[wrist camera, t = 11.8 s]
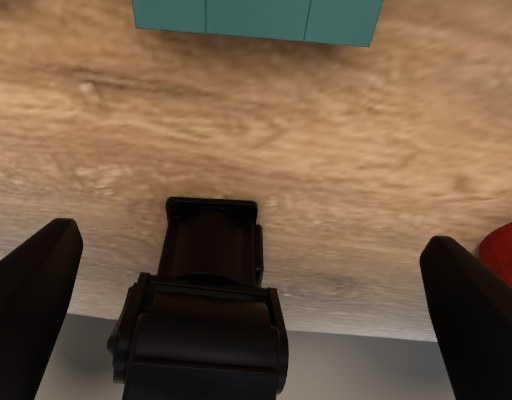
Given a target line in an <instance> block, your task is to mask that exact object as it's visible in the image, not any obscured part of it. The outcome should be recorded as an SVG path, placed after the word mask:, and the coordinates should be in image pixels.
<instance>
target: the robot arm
mask: <svg viewBox="0 0 512 400" xmlns="http://www.w3.org/2000/svg"><path fill="white" fill-rule="evenodd" d="M172 203H173V204H175V205H173V204H172ZM249 207H252V208H249ZM257 211H258V206H257V203H256V202H254V201H243V200H223V199H204V198H184V197H170V198H168V199H167V202H166V212H167V220H168V226H167V231H166V235H165V240H164V245H163V249H162V254H161V258H160V263H159V267H158V272H157V275H150V273H145V272H141V273H140V275H139V278H138V281H137V283H135V282H134V285H133V286H132V287H129V289H128V293H127V297H126V300H125V304H124V307H123V310H122V313H121V315H120V317H119V319H118V321H117V323H116V325H115V327H114V329H113V331H112V333H111V335H110V337H109V339H108V343H107V351H108V352H109V354H110V355H111V357H112V358H113V368H114V375H113V381H114V383H121V384H125V386H124V392H123V397H122V400H276V394H280V393H281V392H282V390H283V388H284V385H285V381H286V377H287V370H288V358H289V351H288V349H289V348H288V338H287V333H286V328H285V324H284V319H283V315H282V311H281V306H280V302H279V298H278V293H277V289H276V288H269V287H268V288H267V289H266V288H261V283H262V277H263V271H264V265H263V235H262V227H261V226H260V225H256V220H257ZM82 251H83V240H82V237H81V234H80V231H79V229H78V226H77V223H76V221H75V220H74V219H71V218H56V219H54V220H52V221H51V222H49V223H48V224H47V225H46V226H44V227H43V228H42V229H40V230H39V231H38V232H37V233H35V234H34V235H33V236H31V237H30V238H29V239H27V240H26V241H25V242H24V243H22V244H21V245H20V246H18V247H17V248H16V249H15V250H13V251H12V252H11V253H9V254H8V255H7V256H6V257H4V258H3V259H2V260H0V400H34V399H35V396H36V393H37V391H38V388H39V385H40V383H41V380H42V377H43V375H44V372H45V369H46V366H47V364H48V361H49V358H50V356H51V353H52V350H53V348H54V345H55V342H56V339H57V337H58V334H59V332H60V329H61V326H62V324H63V321H64V318H65V316H66V313H67V310H68V307H69V303H70V300H71V296H72V292H73V288H74V284H75V279H76V275H77V271H78V267H79V263H80V259H81V255H82ZM420 268H421V273H422V279H423V284H424V289H425V294H426V299H427V304H428V309H429V314H430V318H431V321H432V325H433V328H434V331H435V334H436V338H437V341H438V344H439V347H440V350H441V354H442V357H443V360H444V363H445V366H446V370H447V372H448V376H449V379H450V382H451V386H452V388H453V392H454V395H455V398H456V400H512V288H511V287H510V286H509V285H508V284H506V283H505V282H504V281H503V280H502V279H500V278H499V277H498V276H497V275H496V274H494V273H493V272H492V271H491V270H490V269H488V268H487V267H486V266H485V265H484V264H483V263H481V262H480V261H479V260H478V259H477V258H475V257H474V256H473V255H472V254H471V253H469V252H468V251H467V250H466V249H465V248H464V247H462V246H461V245H460V244H459V243H458V242H456V241H455V240H454V239H453V238H451V237H449V236H434V237H432V238H431V239H430V241H429V242H428V244H427V246H426V247H425V249H424V250H423V252H422V253H421V256H420Z"/></svg>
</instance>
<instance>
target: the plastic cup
mask: <svg viewBox="0 0 512 400" xmlns="http://www.w3.org/2000/svg"><path fill="white" fill-rule="evenodd" d="M479 254H480V257H481V258H480V261H481V263H483V264H484V265H485V266H486V267H487V268H488V269H490V270H491V271H492V272H493V273H494V274H496V275H497V276H498V277H499V278H500V279H502V280H503V281H504V282H505V283H506V284H508V285H509V286H510V287H511V288H512V223H511V224H509V225H506V226H504V227H501V228H499V229H498V230H496V231H495V232H493V233H492V234H490V235H489V236H488V237H487V238H486V239H485V240H484V241H483V243H482V244H481V246H480V251H479Z"/></svg>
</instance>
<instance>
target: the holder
mask: <svg viewBox="0 0 512 400" xmlns="http://www.w3.org/2000/svg"><path fill="white" fill-rule="evenodd" d="M382 3H383V0H132V5H133V12H134V19H135V27H136V28H140V29H153V30H165V31H177V32H190V33H202V34H205V33H207V34H215V35H228V36H240V37H252V38H265V39H277V40H289V41H301V42H302V41H304V42H313V43H325V44H337V45H349V46H362V47H370V44H371V41H372V37H373V34H374V30H375V27H376V24H377V20H378V17H379V14H380V10H381V7H382Z"/></svg>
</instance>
